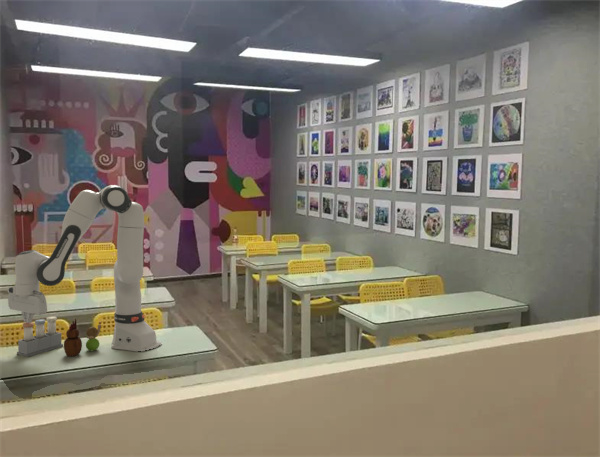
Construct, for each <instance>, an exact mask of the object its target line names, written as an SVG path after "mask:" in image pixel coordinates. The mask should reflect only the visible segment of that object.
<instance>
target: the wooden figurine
mask: <svg viewBox="0 0 600 457" xmlns="http://www.w3.org/2000/svg"><path fill="white" fill-rule="evenodd" d="M77 327H78V325H77V318H74V320H72V323H71V324H70V326H69V327H68V329H67V331H66V334H65V335H66V338H65V340H64V341H63V350H64V353H65V355H66V356H67V357H76V356H78V355H80V353H81V351H82V348H83V341H82V339H81V337H79V335H80V331H79V330H80V329H78V328H77Z"/></svg>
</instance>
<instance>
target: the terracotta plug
mask: <svg viewBox="0 0 600 457" xmlns="http://www.w3.org/2000/svg"><path fill="white" fill-rule="evenodd" d="M34 325H35V322H33V321H32V322H31V323H26V322H23V323H22V328H23V339H24V341H25V342H29V341H32V340H33V336H34V335H33V334H34V332H33V331H34V330H33V329H34V328H33V327H34Z"/></svg>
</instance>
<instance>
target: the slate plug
mask: <svg viewBox="0 0 600 457" xmlns="http://www.w3.org/2000/svg"><path fill="white" fill-rule="evenodd" d="M45 324H46V319H44V318H43V319H42V318H40V319H35V320H34V325H35V336H36V338H39V339H40V338H43V337H45V333H46V332H45Z"/></svg>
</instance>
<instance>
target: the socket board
mask: <svg viewBox="0 0 600 457" xmlns="http://www.w3.org/2000/svg"><path fill="white" fill-rule="evenodd" d="M17 343H18V344H17V345H18V346H17V347H18V351H16V355H17V354H19V355H18V356H21V355H22V356H21V357H25V356H26V357H25V358H29V356H30V357H33V356H36V355H40V354H43V353H46V352H47V353H48V352H50V351H52V350H56V349H60V348H62V347H63V348H64V343H62V332H58V331H56V334H54V335H48V332H45V337H43V338H40V339H39V338H36V335H33V340H32V341H29V342H25V341H24V338H23V339H18V342H17Z"/></svg>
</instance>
